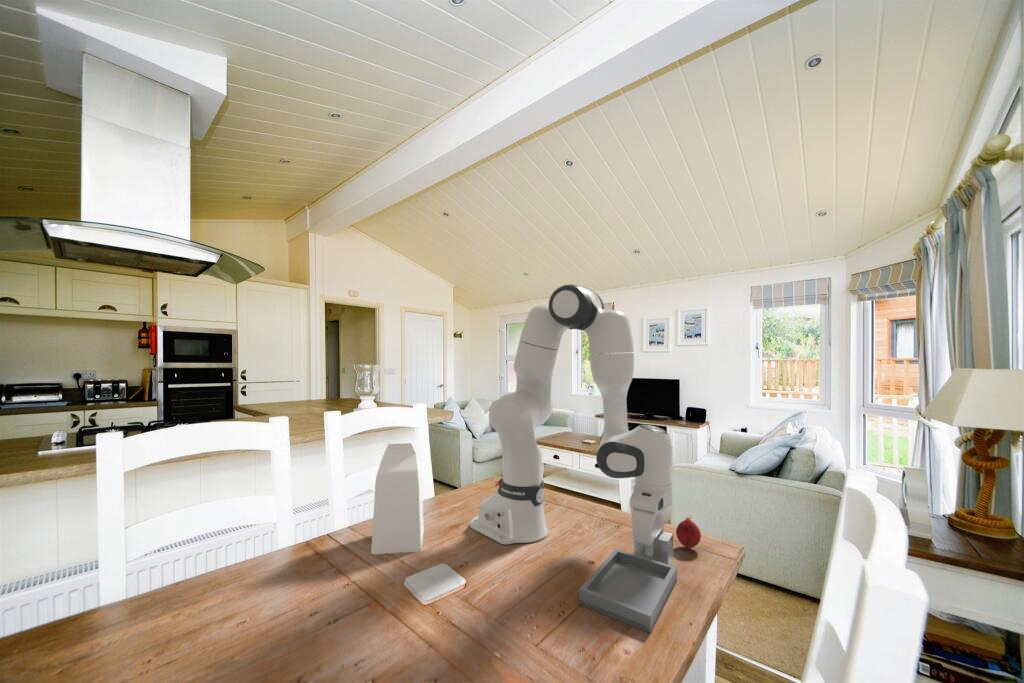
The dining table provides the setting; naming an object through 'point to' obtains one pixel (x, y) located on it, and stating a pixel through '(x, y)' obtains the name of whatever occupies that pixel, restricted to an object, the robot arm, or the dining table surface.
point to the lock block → (658, 548)
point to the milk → (398, 501)
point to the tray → (629, 589)
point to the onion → (688, 533)
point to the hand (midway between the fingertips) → (653, 549)
